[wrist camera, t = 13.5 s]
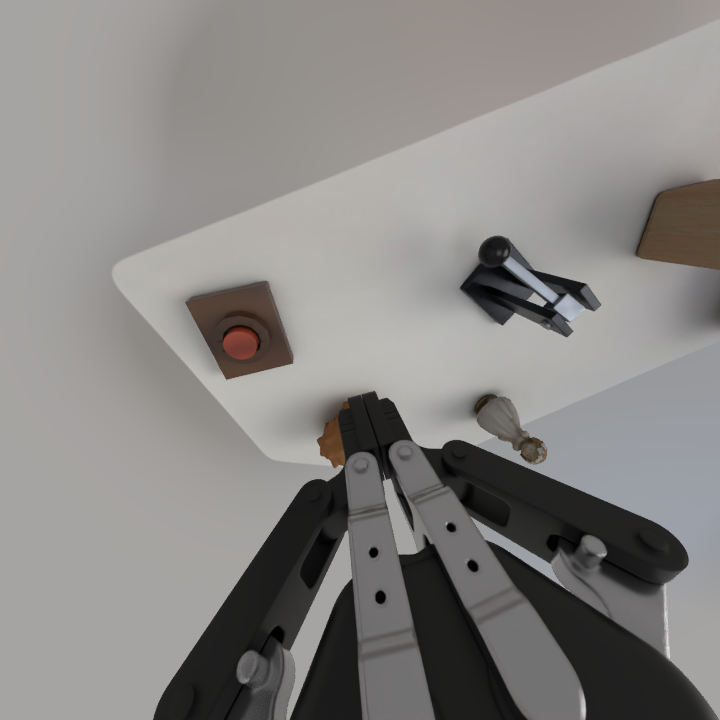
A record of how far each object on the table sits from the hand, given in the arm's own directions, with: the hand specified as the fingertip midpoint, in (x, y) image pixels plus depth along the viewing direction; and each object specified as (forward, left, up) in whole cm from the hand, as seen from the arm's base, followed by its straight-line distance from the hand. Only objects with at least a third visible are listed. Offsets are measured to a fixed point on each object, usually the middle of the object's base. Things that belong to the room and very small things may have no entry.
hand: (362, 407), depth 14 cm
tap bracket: (+6, +28, -27) cm, 39 cm away
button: (+4, -12, -23) cm, 27 cm away
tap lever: (+3, +25, -19) cm, 32 cm away
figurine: (+32, +28, -27) cm, 50 cm away
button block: (+4, -12, -27) cm, 30 cm away
